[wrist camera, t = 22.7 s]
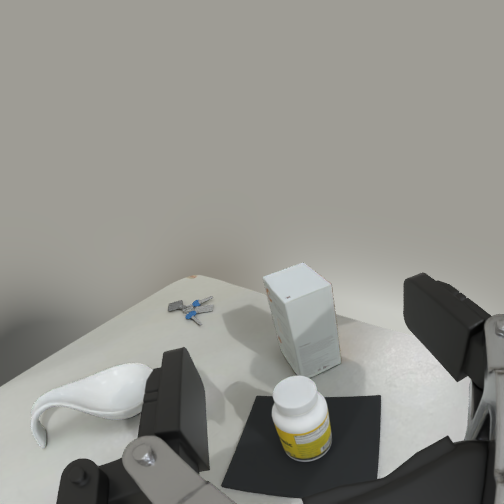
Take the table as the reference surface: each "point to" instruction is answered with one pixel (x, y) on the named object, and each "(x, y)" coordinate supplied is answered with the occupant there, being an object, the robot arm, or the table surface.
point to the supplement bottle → (301, 418)
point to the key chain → (197, 310)
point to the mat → (313, 472)
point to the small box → (304, 319)
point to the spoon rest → (97, 396)
